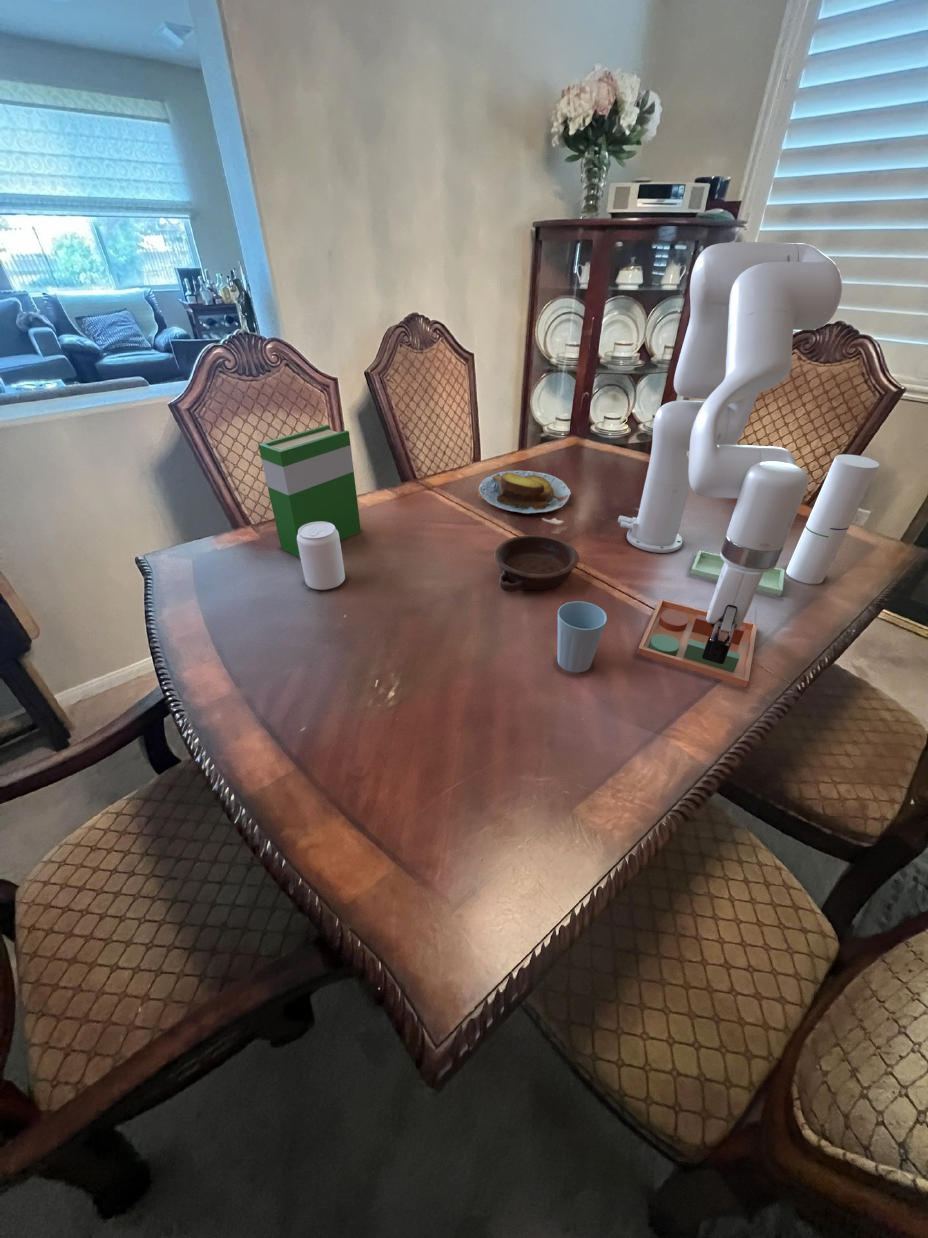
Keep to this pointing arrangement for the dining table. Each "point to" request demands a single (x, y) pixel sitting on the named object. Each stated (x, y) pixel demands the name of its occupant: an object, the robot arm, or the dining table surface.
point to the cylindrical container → (831, 517)
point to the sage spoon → (691, 651)
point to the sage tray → (712, 565)
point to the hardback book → (311, 483)
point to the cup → (579, 634)
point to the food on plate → (524, 491)
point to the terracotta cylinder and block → (701, 626)
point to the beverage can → (321, 555)
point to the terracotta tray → (683, 637)
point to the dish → (534, 562)
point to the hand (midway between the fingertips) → (716, 643)
